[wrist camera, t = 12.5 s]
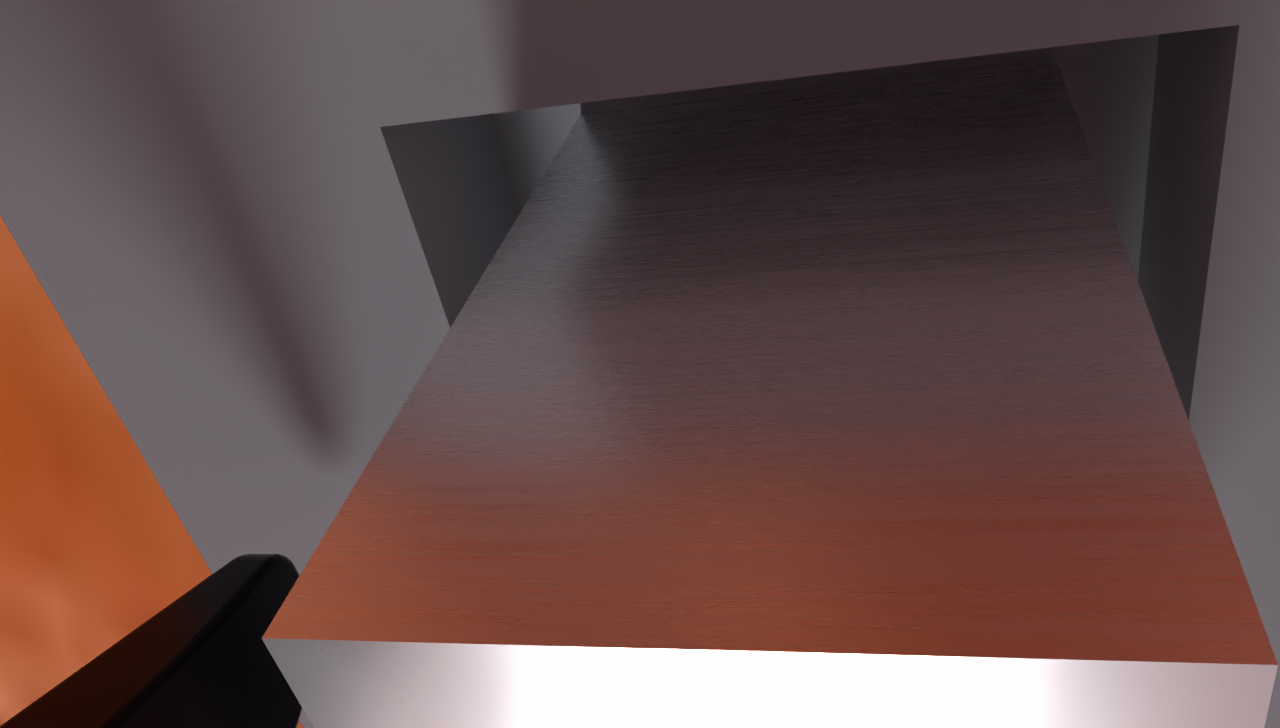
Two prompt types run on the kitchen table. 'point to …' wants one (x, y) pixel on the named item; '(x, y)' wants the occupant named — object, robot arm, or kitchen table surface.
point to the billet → (793, 446)
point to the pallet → (505, 179)
